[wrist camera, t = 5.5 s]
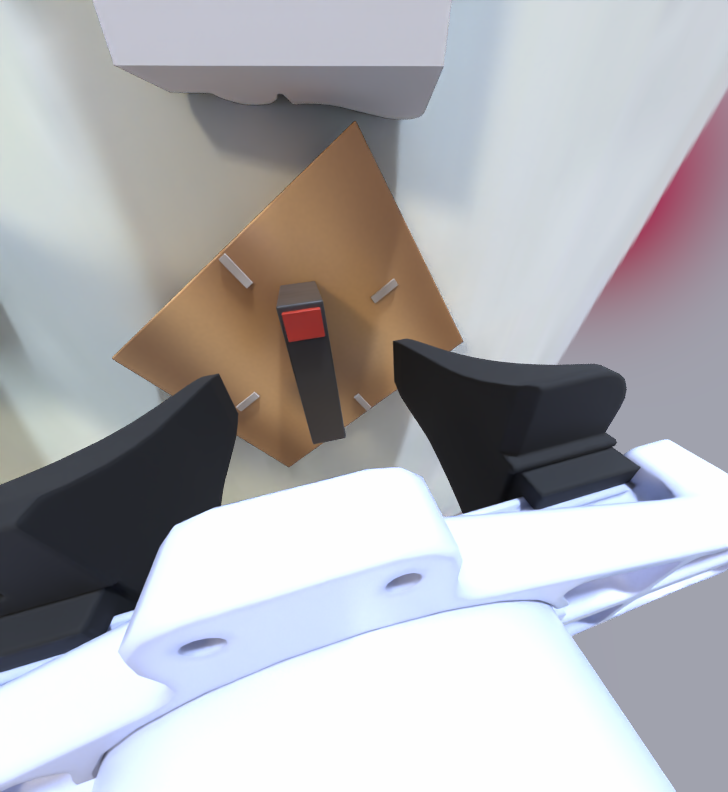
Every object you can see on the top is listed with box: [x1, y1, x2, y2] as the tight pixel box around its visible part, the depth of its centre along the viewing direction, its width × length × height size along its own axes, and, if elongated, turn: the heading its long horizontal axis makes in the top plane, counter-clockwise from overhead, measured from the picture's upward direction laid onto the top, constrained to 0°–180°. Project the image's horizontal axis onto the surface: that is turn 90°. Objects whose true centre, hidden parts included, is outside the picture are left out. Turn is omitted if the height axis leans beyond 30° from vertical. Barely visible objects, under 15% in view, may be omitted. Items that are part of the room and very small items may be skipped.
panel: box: [112, 121, 463, 467], centre depth 15 cm, size 14×11×3 cm
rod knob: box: [276, 281, 346, 444], centre depth 12 cm, size 6×2×4 cm, turn 5°
